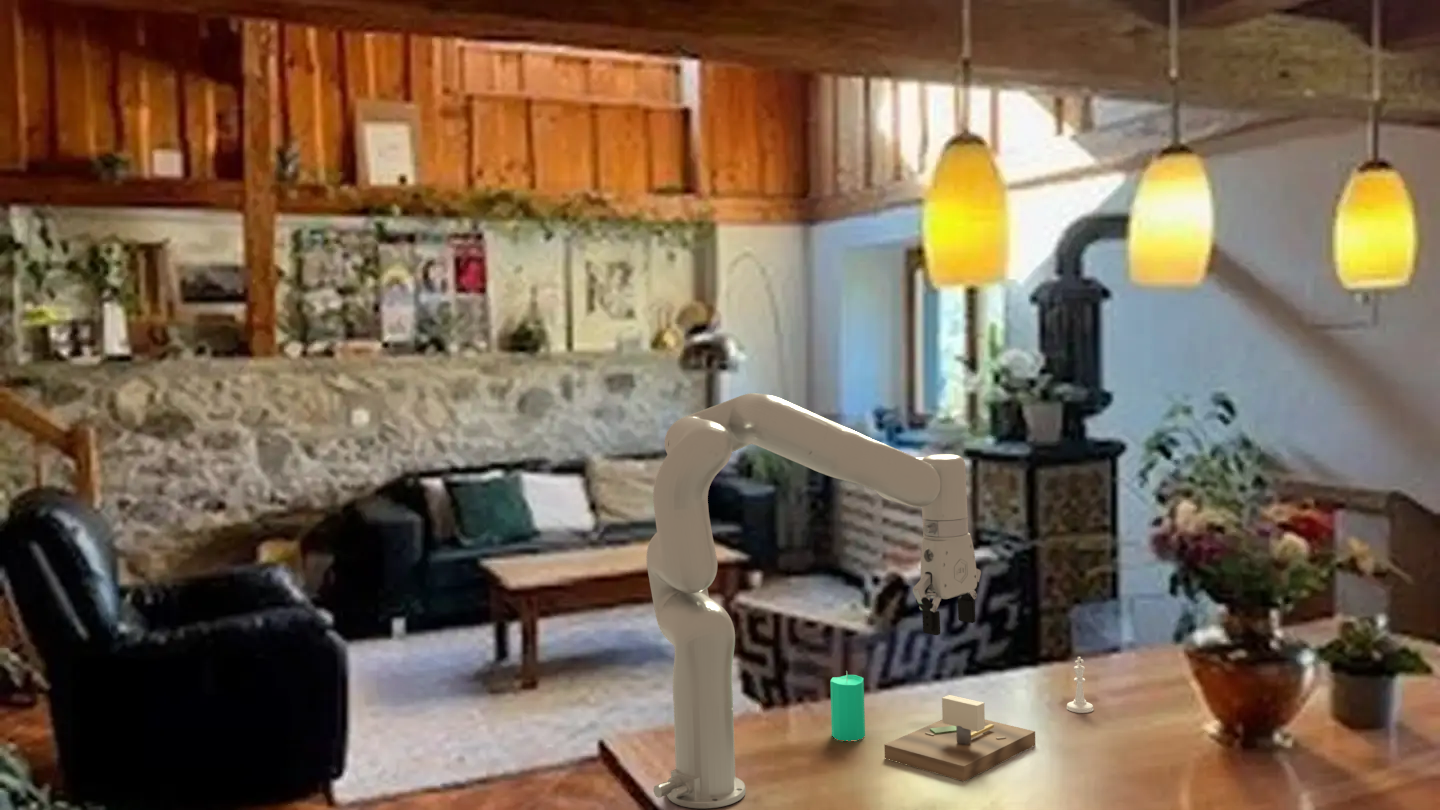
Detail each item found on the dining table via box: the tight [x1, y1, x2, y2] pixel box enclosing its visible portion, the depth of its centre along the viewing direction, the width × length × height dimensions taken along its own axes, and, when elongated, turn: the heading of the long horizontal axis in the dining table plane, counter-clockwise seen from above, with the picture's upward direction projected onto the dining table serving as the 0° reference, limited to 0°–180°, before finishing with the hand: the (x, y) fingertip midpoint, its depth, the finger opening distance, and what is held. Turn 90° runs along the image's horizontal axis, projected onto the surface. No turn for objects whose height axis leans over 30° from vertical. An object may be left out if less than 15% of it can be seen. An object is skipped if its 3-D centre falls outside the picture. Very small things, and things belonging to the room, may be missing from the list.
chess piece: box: [1066, 656, 1094, 714], centre depth 231 cm, size 5×5×10 cm
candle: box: [829, 670, 866, 741], centre depth 220 cm, size 6×6×12 cm
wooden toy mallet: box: [941, 694, 994, 744], centre depth 210 cm, size 10×7×7 cm
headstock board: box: [883, 719, 1036, 782], centre depth 210 cm, size 22×16×3 cm
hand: (949, 627), depth 206 cm, fingers open, 9 cm apart
